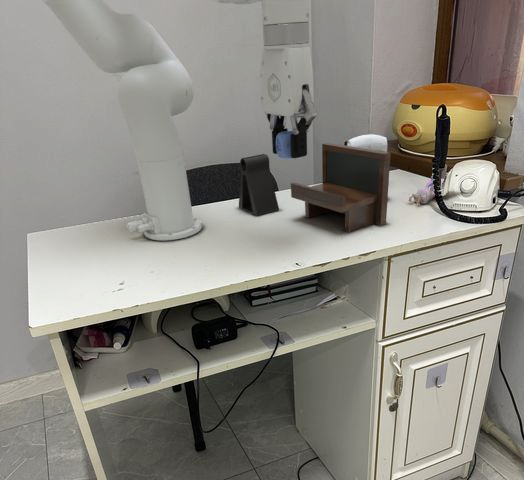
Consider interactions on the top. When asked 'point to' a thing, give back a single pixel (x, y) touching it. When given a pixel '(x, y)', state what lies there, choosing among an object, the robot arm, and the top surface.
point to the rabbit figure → (425, 193)
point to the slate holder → (349, 186)
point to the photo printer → (369, 142)
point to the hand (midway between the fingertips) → (289, 153)
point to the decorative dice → (284, 144)
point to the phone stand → (257, 186)
